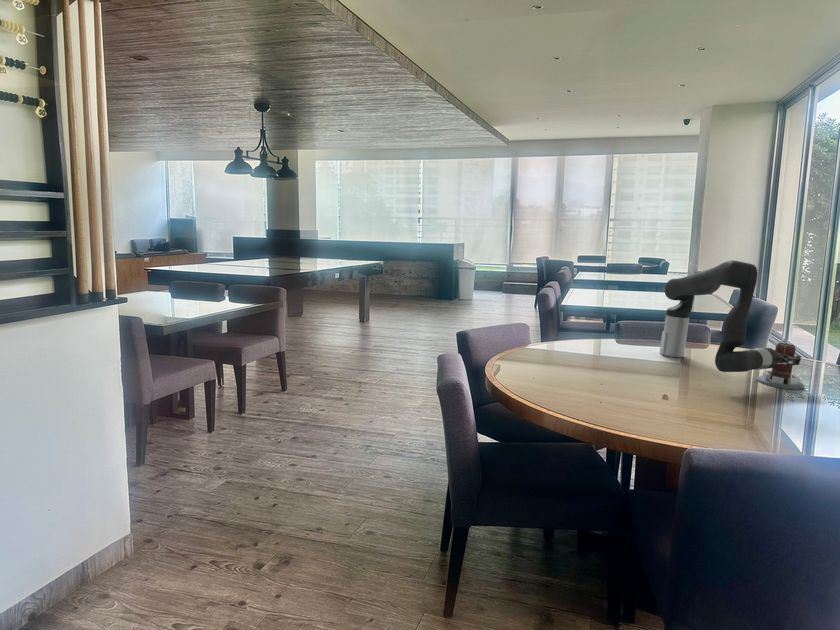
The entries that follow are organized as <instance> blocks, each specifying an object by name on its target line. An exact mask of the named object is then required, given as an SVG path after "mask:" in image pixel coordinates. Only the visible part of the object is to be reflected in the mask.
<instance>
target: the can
mask: <svg viewBox="0 0 840 630" xmlns="http://www.w3.org/2000/svg"><path fill="white" fill-rule="evenodd" d="M774 350H775V351H776V352H777V353H780V354H788V355H789V356H796V355H795V354H796V347H795V345H794V344H789V343H780V342H778V343H776V345H775V348H774ZM783 357H784V358H785V357H786V356H783ZM793 366H794V365H792V366H788V365H787V364H777V365H776V366H775V367H773V368H771V370H772V371H771V377H770V379H771V381H772V376H773V375H774V376H779V377H784V378H785V379H784V384H787V381H788V378H791V377H792V371H793Z"/></svg>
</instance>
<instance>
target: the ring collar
mask: <svg viewBox="0 0 840 630" xmlns="http://www.w3.org/2000/svg"><path fill="white" fill-rule="evenodd" d="M771 371H772V369H771V370H768V369H766V370H764V371H763V372H762V378H763V379H764V380H765V381H770V377H771ZM784 379H785V378H784V377H779V376H774V375H773V376H772V382H771V383H776V384H781V385H783V384H784ZM800 380H801V377H800V376H798V375H796V374H791V377H790V378H788V381H787V385H789V386H795V385H798V384H799V382H800Z"/></svg>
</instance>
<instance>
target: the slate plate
mask: <svg viewBox="0 0 840 630" xmlns="http://www.w3.org/2000/svg"><path fill="white" fill-rule="evenodd" d="M762 375H763V374H762ZM762 375H757V376H756V381H757V382H758V381H759V382H758V383H760V382H761V383H760V384H762V383H763V385H765V384H766V385H765V386H768V385H769V387H772V386H773V388H776V387H778V388H777V389H782V390H793V391H800V390H804V388H805V384H804V383H802V382H801V381H799V384H798V385H795V386H789V385H787V384H783V385H781V384H776V383H771V382H772V381H771V379H770V381H765V380H764V379H763V378H762Z"/></svg>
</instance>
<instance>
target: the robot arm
mask: <svg viewBox="0 0 840 630" xmlns="http://www.w3.org/2000/svg"><path fill="white" fill-rule="evenodd" d="M757 280H758V268H757V267H756V265H755V264H752V263H750V262H745V261H739V260H735V259H734V260H733V259H732V260H731V259H729V260H726V261H724V262H722V263H720V264H718V265H716V266H714V267H712V268H709V269H706V270H701V271H698V272H696V273H692V274H690V275H687V276H684V277H679V278H671V279H669V280H668V281H667V282H666V284H665V286H664V294H665V297H667V299H668V300H671V301H679V302H678V303H677V304H675V305H673V306H671V307H668V308H667V309H666V312H665V320H664V321H665V322H664V328H663V330H662V334H661V339H660V346H659V347H660V348H659V353H660V354H661V355H662V356H665V357H670V358H671V357H672V358H684V357H685V349H686V343H687V336H688V329H689V323H690V316H691V313H692V310H693V303H694V299H695V296H705V295H709V294H713V293H715V292H717V291H718V290H719V289H720V287H721V286H727V287H732V288H736V289H739V291H740V293H739V297H738V300H737V301H736V303H735V304H734V305H733V307H732V308H731V309H730V310H729V312H728V313H727V315H726V316H725V318H724V320H723V321H724V322H723V329H722V330H723V331H722V332H723V333H722V339H721V341H720V343H719V347H718V349H717V351H716V353H715V358H714V363H715V367H716V369H717V370H718V371H719V372H722V373H742V372H749V371H752V370H758V371H759V370H768V369H772V368H773V367H775V366H776V365H777V364H787V365H788V366H792V365H793V366H799V365H800V362H801V361H802V360H801V359H802V357H801V356H800V355H794V356H789V355H788V354H780V353H777V352H776V351H775V348H774V349H773V348H772V347H757V348H756V347H755V348H752V349H745V350H737V351H736V350H735V349H736V348H738V347H741V346H744V345H745V344H746V342H747V341H746V338H747V326H748V318H749V313H750V309H751V307H752V306H751V305H752V301H753V297H754V293H755V289H756V285H757ZM783 356H786V357H785V358H784V357H783ZM793 366H792V367H793Z"/></svg>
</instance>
